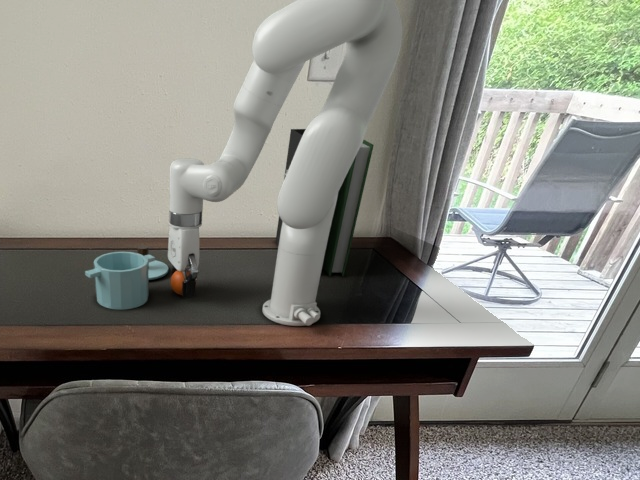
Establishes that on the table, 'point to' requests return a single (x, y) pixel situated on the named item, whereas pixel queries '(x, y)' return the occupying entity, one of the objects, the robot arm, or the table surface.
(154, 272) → the pot lid
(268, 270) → the table surface
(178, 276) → the orange
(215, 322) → the table surface
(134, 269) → the pot
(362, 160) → the green and black books
